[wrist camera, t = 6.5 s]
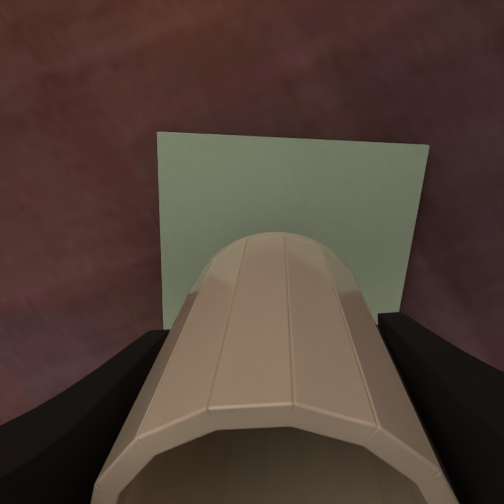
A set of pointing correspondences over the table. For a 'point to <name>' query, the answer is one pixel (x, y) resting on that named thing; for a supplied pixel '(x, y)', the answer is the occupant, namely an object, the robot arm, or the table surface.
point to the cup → (274, 394)
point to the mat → (288, 204)
